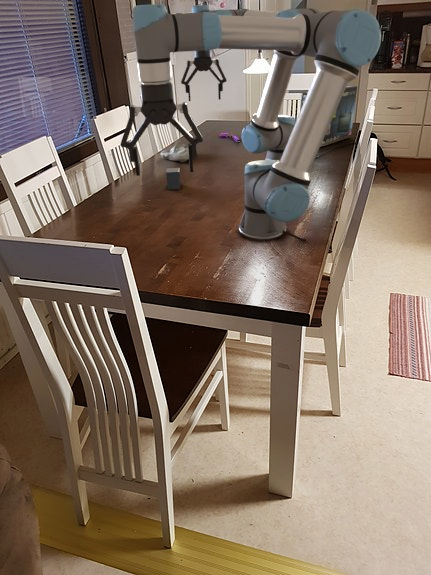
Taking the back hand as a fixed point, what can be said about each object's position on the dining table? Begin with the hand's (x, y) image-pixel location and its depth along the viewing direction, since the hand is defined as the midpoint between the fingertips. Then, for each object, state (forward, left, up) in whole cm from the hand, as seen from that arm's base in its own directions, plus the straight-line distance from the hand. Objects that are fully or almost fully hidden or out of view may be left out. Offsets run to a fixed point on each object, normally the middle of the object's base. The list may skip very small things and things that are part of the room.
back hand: (204, 100), depth 208 cm
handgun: (-29, -35, -28) cm, 53 cm away
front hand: (+50, +94, -1) cm, 106 cm away
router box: (-68, 0, -28) cm, 74 cm away
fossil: (+10, -13, -28) cm, 33 cm away
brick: (+27, +28, -28) cm, 48 cm away
